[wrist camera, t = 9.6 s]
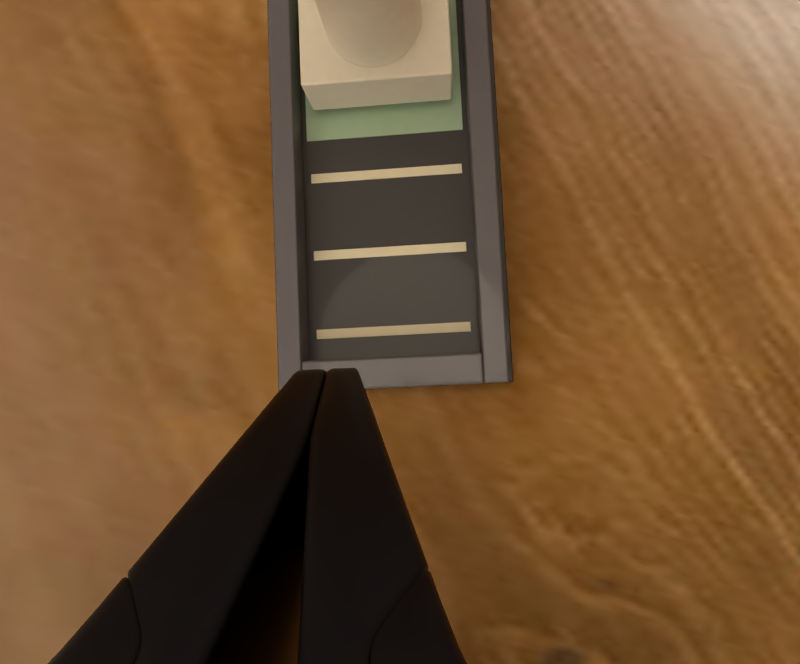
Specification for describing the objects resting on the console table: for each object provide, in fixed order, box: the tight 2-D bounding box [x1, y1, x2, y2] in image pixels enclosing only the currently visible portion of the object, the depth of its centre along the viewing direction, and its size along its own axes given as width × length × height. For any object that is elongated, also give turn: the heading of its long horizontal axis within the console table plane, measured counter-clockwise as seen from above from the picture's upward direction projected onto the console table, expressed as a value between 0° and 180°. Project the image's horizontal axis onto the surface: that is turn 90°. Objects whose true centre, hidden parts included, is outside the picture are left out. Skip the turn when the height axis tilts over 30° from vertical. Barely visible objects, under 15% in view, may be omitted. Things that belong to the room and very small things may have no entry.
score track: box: [267, 0, 513, 391], centre depth 19 cm, size 14×7×2 cm, turn 3°
